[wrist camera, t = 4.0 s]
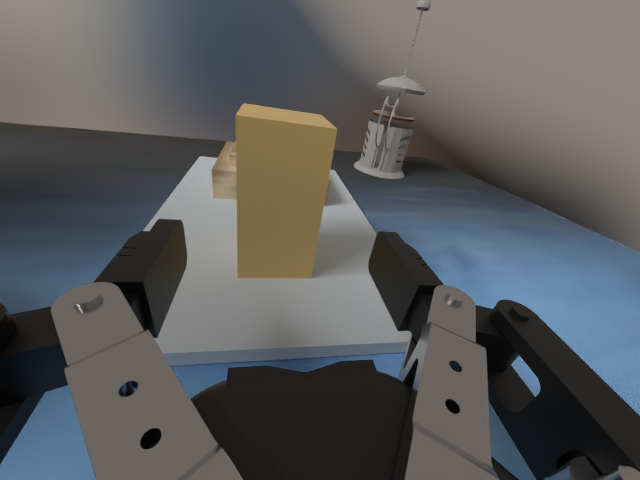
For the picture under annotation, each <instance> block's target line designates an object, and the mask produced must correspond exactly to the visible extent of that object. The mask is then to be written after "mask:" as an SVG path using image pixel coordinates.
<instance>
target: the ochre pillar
mask: <svg viewBox="0 0 640 480" xmlns="http://www.w3.org/2000/svg"><path fill="white" fill-rule="evenodd" d="M336 133H337V128H335V127H334V126H333V125H332V124H331V123H330V122H329V121H327V120H326V119H325V118H324V117H323V116H322V115H318V114H311V113H305V112H298V111H291V110H284V109H277V108H271V107H264V106H258V105H250V104H243V105H242V107H241V108H240V110H239V111H238V112H237V114H236V184H237V278H304V279H311V276H312V271H313V265H314V259H315V254H316V248H317V242H318V236H319V231H320V225H321V219H322V214H323V208H324V202H325V197H326V191H327V185H328V179H329V174H330V168H331V162H332V157H333V151H334V145H335V140H336Z"/></svg>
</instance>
